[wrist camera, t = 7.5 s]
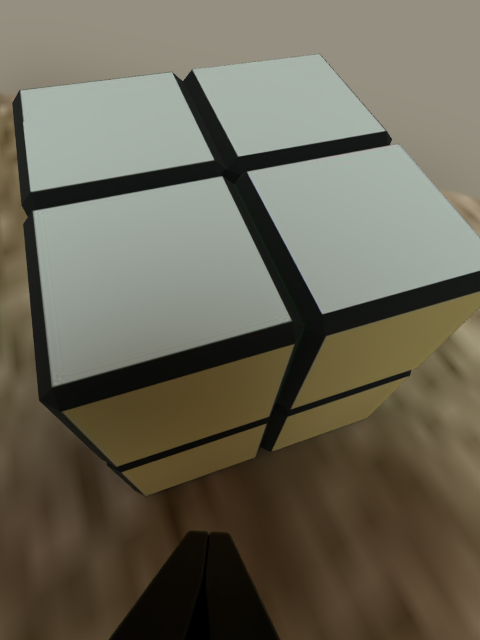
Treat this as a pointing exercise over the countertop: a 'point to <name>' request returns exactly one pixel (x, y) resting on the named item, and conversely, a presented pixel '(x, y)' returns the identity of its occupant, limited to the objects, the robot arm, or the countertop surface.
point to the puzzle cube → (227, 262)
